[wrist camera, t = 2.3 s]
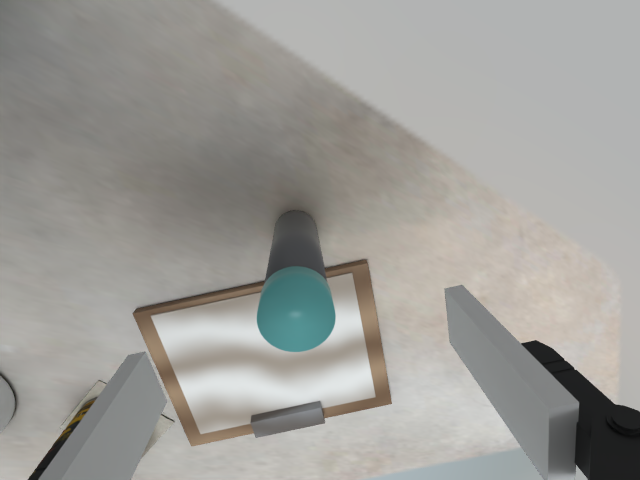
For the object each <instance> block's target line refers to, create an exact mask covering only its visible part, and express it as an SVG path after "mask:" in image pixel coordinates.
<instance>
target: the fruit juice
mask: <svg viewBox="0 0 640 480" xmlns="http://www.w3.org/2000/svg"><path fill="white" fill-rule="evenodd" d="M14 410H15V398H14V394H13V392H12V390H11V388H10V386H9V385H8V383H7V382H6V381H5V380H4V379H3V378H2V377H1V376H0V433H1V432H2V431H3V430H4V428H5V427H6V426H7V424H8V423H9V421H10V420H11V418H12V416H13V413H14Z"/></svg>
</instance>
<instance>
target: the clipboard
mask: <svg viewBox="0 0 640 480" xmlns="http://www.w3.org/2000/svg"><path fill="white" fill-rule="evenodd" d="M325 273H326V278H327V283H328V285H329V287H330V290H331V294H332V299H333V304H334V308H335V315H336V320H335V325H334V328H333V330H332V332H331V334H330V335H329V337H328V338H327V339H326V340H325V341H324V342H323V343H322V344H320V345H319V346H317V347H315V348H313V349H310V350H307V351H302V352H288V351H284V350H280V349H278V348H276V347H274V346H272V345H271V344H270V343H268V342H267V341H266V340H265V339H264V338H263V336H262V335H261V333H260V331H259V329H258V325H257V311H258V306H259V301H260V295H261V291H262V288H263V285H264V284H265V281H264V282H260V283H255V284H250V285H246V286H241V287H236V288H232V289H227V290H222V291H218V292H213V293H208V294H204V295H199V296H194V297H190V298H185V299H180V300H176V301H171V302H166V303H162V304H157V305H152V306H148V307H143V308H138V309H136V310H135V311H134V313H133V315H134V318H135V320H136V322H137V324H138V327H139V329H140V331H141V333H142V336H143V338H144V340H145V343H146V345H147V347H148V349H149V352H150V354H151V356H152V358H153V361H154V363H155V365H156V367H157V370H158V372H159V374H160V376H161V379H162V381H163V383H164V386H165V388H166V390H167V392H168V395H169V397H170V399H171V401H172V404H173V406H174V408H175V410H176V413H177V415H178V417H179V420H180V422H181V424H182V426H183V429H184V431H185V433H186V435H187V438H188V440H189V442H190V444H191V446H196V445H201V444H205V443H210V442H215V441H219V440H224V439H229V438H234V437H238V436H243V435H248V434H252V433H254V434H255V437H256V438H258V437H262V436H267V435H272V434H276V433H281V432H286V431H290V430H295V429H300V428H305V427H309V426H314V425H319V424H323V423H325V420H324V418H328V417H332V416H337V415H342V414H346V413H351V412H356V411H361V410H365V409H370V408H375V407H379V406H384V405H389V404H392V402H391V396H390V390H389V384H388V379H387V373H386V367H385V361H384V355H383V349H382V343H381V338H380V332H379V326H378V320H377V314H376V308H375V303H374V297H373V291H372V285H371V279H370V273H369V267H368V263H367V261H366V260H362V261H358V262H353V263H348V264H344V265H339V266H334V267H330V268H325Z"/></svg>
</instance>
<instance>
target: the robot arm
mask: <svg viewBox="0 0 640 480" xmlns="http://www.w3.org/2000/svg"><path fill="white" fill-rule="evenodd" d="M445 299H446V309H447V320H448V330H449V340H450V343H451V345H452V346H453V348H454V349H455V351H456V352H457V354H458V355H459V357H460V358H461V360H462V361H463V362H464V364H465V365H466V367H467V368H468V370H469V371H470V373H471V374H472V376H473V377H474V379H475V380H476V381H477V383H478V384H479V386H480V387H481V389H482V390H483V392H484V393H485V395H486V396H487V398H488V399H489V400H490V402H491V403H492V405H493V406H494V408H495V409H496V411H497V412H498V414H499V415H500V417H501V418H502V419H503V421H504V422H505V424H506V425H507V427H508V428H509V430H510V431H511V433H512V434H513V436H514V437H515V438H516V440H517V441H518V443H519V444H520V446H521V447H522V449H523V450H524V452H525V453H526V455H527V456H528V457H529V459H530V460H531V461H532V463H533V465H534V466H535V468H536V469H537V471H538V472H539V473H540V475H541V476H542V478H543V479H544V480H575V476H576V465H577V466H578V467H579V469H580V470H581V471H582V472H583V473H584V475H585V476H586V477H587V478H588V480H640V412H639V411H637V410H635V409H632V408H629V407H626V406H622V405H615V404H614V403H613V402H612V401H611V400H609V399H608V398H607V397H606V396H605V395H604V394H603V393H602V392H600V391H599V390H598V389H597V388H596V387H595V386H594V385H593V384H592V383H590V382H589V381H588V380H587V379H586V378H585V377H584V376H583V375H582V374H580V373H579V372H578V371H577V370H575V369H574V367H573V366H571V365H570V364H569V363H568V362H567V361H565V360H564V358H563V357H561V356H560V355H559V354H558V353H557V352H556V351H555V350H554V349H552V348H551V347H549V346H547V345H545V344H543V343H540V342H538V341H536V340H535V341H531V342H526V343H520V342H519V341H518V340H517V339H516V338H515V337H514V336H513V335H512V334H511V333H510V332H509V331H508V330H507V329H506V328H505V327H504V326H503V325H502V324H501V323H500V322H499V321H498V320H497V319H496V318H495V317H494V316H493V315H492V314H491V313H490V312H489V311H488V310H487V309H486V308H485V307H484V306H483V305H482V304H481V303H480V302H479V301H478V300H477V299H476V298H475V297H474V296H473V295H472V294H471V293H470V292H469V291H468V290H467V289H466V288H465V287H464V286H463V285H460V286H455V287H450V288H445ZM166 403H167V399H166V397H165V395H164V393H163V390H162V388H161V386H160V383H159V381H158V379H157V377H156V374H155V372H154V370H153V368H152V365H151V363H150V361H149V358H148V356H147V354H146V352H141V353H136V354H131V355H128V356H127V358H126V359H125V360H124V362H123V363H122V364H121V366H120V367H119V369H118V370H117V371H116V373H115V374H114V376H113V377H112V378H111V380H110V381H109V382H108V384H107V385H106V387H105V388H104V389H103V391H102V392H101V393H100V395H99V396H98V398H97V399H96V400H95V402H94V403H93V405H92V406H91V407H90V409H89V410H88V411H87V413H86V414H85V416H84V417H83V418H82V420H81V421H80V423H79V424H78V425H77V427H76V428H75V429H74V431H73V432H72V434H71V435H70V436H69V438H68V439H65V440H62V441H61V442H60V443H59V444H58V445H57V446H56V447H55V448H53V449H52V450H51V451H50V452H49V453H48V454H47V455H46V456H45V458H44V459H43V460H42V462H41V463H40V464H39V466H38V467H37V468H36V472H35V473H33V474H32V475H31V476H30V478H29V479H28V480H131V478H132V476H133V474H134V472H135V469H136V467H137V465H138V463H139V461H140V459H141V457H142V454H143V452H144V450H145V448H146V446H147V444H148V442H149V439H150V437H151V435H152V433H153V431H154V429H155V426H156V424H157V422H158V420H159V418H160V416H161V414H162V411H163V409H164V407H165V405H166Z"/></svg>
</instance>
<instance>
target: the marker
mask: <svg viewBox="0 0 640 480" xmlns="http://www.w3.org/2000/svg"><path fill="white" fill-rule="evenodd" d="M335 320H336V315H335V308H334V304H333V299H332V294H331V290H330V287H329V285H328V283H327V278H326V273H325V268H324V263H323V258H322V252H321V247H320V242H319V237H318V232H317V227H316V223H315V221H314V220H313V218H312V217H311V216H310V215H308V214H307V213H305V212H302V211H289V212H287V213H285V214H283V215H282V216H281V217H280V218H279V219H278V221H277V223H276V225H275V230H274V236H273V241H272V246H271V252H270V257H269V263H268V268H267V273H266V279H265V284H264V285H263V288H262V291H261V295H260V301H259V306H258V311H257V325H258V329H259V331H260V333H261V335H262V336H263V338H264V339H265V340H266V341H267V342H268V343H270V344H271V345H272V346H274V347H276V348H278V349H280V350H284V351H288V352H302V351H307V350H310V349H313V348H315V347H317V346H319V345H320V344H322V343H323V342H324V341H325V340H326V339H327V338H328V337H329V335H330V334H331V332H332V330H333V328H334V325H335Z"/></svg>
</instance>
